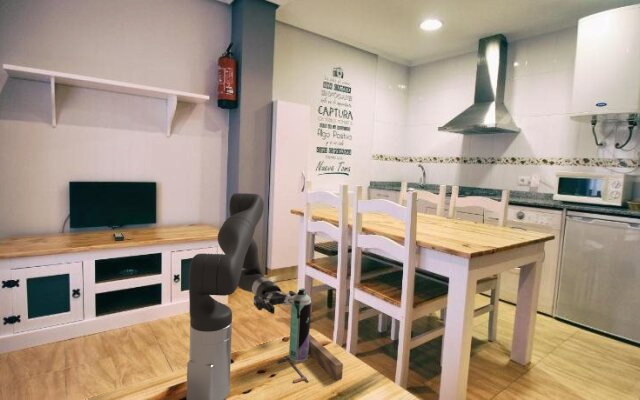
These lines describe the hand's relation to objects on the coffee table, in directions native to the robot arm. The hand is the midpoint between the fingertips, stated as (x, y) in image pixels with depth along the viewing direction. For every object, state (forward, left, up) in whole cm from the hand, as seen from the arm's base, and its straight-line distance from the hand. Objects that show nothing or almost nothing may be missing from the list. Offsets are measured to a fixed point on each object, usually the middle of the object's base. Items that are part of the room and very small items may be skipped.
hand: (286, 308), depth 107 cm
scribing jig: (-10, -10, -11) cm, 18 cm away
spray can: (-6, -6, -11) cm, 14 cm away
